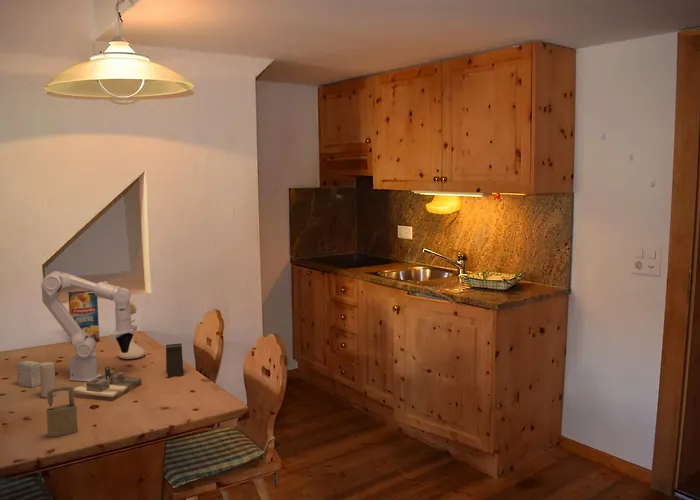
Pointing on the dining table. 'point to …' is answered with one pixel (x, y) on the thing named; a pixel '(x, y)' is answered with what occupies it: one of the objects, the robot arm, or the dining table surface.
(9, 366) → the dining table surface
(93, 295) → the juice carton
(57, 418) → the padlock
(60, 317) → the robot arm
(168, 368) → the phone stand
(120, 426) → the dining table surface
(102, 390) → the door and jamb
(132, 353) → the flower in vase
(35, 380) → the grey upright block
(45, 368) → the beige cylinder
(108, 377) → the bolt
